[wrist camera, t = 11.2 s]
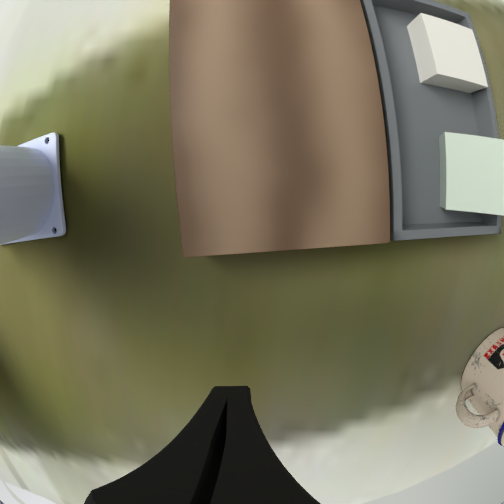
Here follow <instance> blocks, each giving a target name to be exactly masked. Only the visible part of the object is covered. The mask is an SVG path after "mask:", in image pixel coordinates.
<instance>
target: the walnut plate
mask: <svg viewBox="0 0 504 504" xmlns="http://www.w3.org/2000/svg"><path fill="white" fill-rule="evenodd" d="M169 77H170V107H171V128H172V144H173V158H174V171H175V183H176V194H177V204H178V214H179V223H180V232H181V240H182V248H183V256H184V257H198V256H212V255H226V254H240V253H254V252H268V251H282V250H296V249H310V248H324V247H338V246H352V245H366V244H380V243H390V195H389V173H388V158H387V146H386V136H385V126H384V118H383V110H382V103H381V96H380V89H379V83H378V77H377V72H376V66H375V61H374V56H373V51H372V46H371V42H370V38H369V33H368V29H367V25H366V21H365V17H364V13H363V10H362V6H361V3H360V0H170V14H169Z"/></svg>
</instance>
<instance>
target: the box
mask: <svg viewBox="0 0 504 504" xmlns="http://www.w3.org/2000/svg"><path fill="white" fill-rule="evenodd" d="M360 3H361V6H362V10H363V13H364V17H365V21H366V25H367V29H368V33H369V38H370V42H371V46H372V51H373V56H374V61H375V66H376V72H377V77H378V83H379V89H380V96H381V103H382V110H383V118H384V126H385V136H386V146H387V158H388V173H389V195H390V239H391V240H393V241H396V240H411V239H425V238H440V237H454V236H469V235H483V234H498V233H501V225H502V215H495V214H486V213H477V212H467V211H457V210H446V209H444V208H442V207H440V150H439V137H440V136H441V135H442V134H443V133H444V132H450V133H460V134H468V135H476V136H483V137H489V138H496V139H499V135H498V127H497V120H496V113H495V107H494V102H493V96H492V91H491V87H490V82H489V78H488V73H487V69H486V66H485V62H484V58H483V55H482V51H481V48H480V44H479V41H478V38H477V35H476V32H475V29H474V26H473V23H472V21H471V18H470V15H469V13H466V12H464V11H461V10H458V9H456V8H453V7H450V6H447V5H445V4H442V3H439V2H435V1H432V0H360ZM420 13H423V14H427V15H430V16H434V17H437V18H440V19H444V20H447V21H450V22H453V23H456V24H458V25H461V26H464V27H467V28H469V29H472V30H473V33H474V36H475V40H476V43H477V46H478V49H479V53H480V56H481V60H482V64H483V68H484V72H485V76H486V80H487V85H488V87H487V88H484V89H481V90H478V91H475V92H472V93H466V92H462V91H458V90H454V89H449V88H444V87H439V86H434V85H429V84H423V83H420V80H419V74H418V70H417V65H416V60H415V56H414V52H413V48H412V44H411V40H410V36H409V32H408V29H407V25H408V24H410V23H411V22H412V21H413V20H414V19H415V18H416V17H417V16H418V15H419V14H420Z"/></svg>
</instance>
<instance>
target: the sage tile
mask: <svg viewBox="0 0 504 504" xmlns="http://www.w3.org/2000/svg"><path fill="white" fill-rule="evenodd" d="M439 150H440V207H442V208H444V209H446V210H457V211H467V212H477V213H486V214H495V215H503V216H504V140H502V139H496V138H489V137H483V136H476V135H468V134H460V133H450V132H444V133H443V134H442V135H441V136H440V137H439Z"/></svg>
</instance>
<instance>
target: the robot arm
mask: <svg viewBox="0 0 504 504" xmlns="http://www.w3.org/2000/svg"><path fill="white" fill-rule="evenodd" d="M48 139H49V143H48ZM55 228H56V229H57V232H55ZM65 233H66V224H65V216H64V208H63V199H62V188H61V176H60V158H59V135H58V134H57V133H50V134H47V135H44V136H41V137H39V138H36V139H34V140H31V141H29V142H26V143H24V144H21V145H19V146H2V145H0V245H3V244H9V243H16V242H22V241H29V240H36V239H43V238H50V237H57V236H62V235H64V234H65ZM0 504H4V503H3V502H2V501H0ZM84 504H320V503H319V502H318V501H317V500H315V499H314V498H313V497H312V496H311V495H310V494H309V493H308V492H307V491H306V490H305V489H304V488H303V487H302V486H301V485H300V484H299V483H298V482H297V481H296V480H295V479H294V478H293V477H292V475H291V474H290V473H289V472H288V471H287V469H286V468H285V467H284V466H283V464H282V463H281V462H280V460H279V459H278V457H277V456H276V454H275V453H274V451H273V450H272V448H271V447H270V445H269V443H268V441H267V440H266V438H265V436H264V434H263V432H262V430H261V428H260V425H259V423H258V421H257V418H256V416H255V413H254V410H253V407H252V403H251V394H250V388H249V387H248V386H215V387H214V388H213V389H212V390H211V392H210V393H209V395H208V397H207V398H206V400H205V401H204V403H203V404H202V406H201V407H200V408H199V410H198V411H197V412H196V414H195V415H194V416H193V418H192V419H191V420H190V421H189V423H188V424H187V425H186V426H185V427H184V428H183V430H182V431H181V432H180V433H179V434H178V435H177V436H176V437H175V438H174V439H173V440H172V441H171V442H170V443H169V444H168V445H167V446H166V447H165V448H164V449H163V450H161V451H160V452H159V453H158V454H157V455H155V456H154V457H153V458H151V459H150V460H149V461H147V462H146V463H145V464H143V465H142V466H140V467H139V468H137V469H135V470H134V471H132V472H130V473H129V474H127V475H125V476H123V477H122V478H120V479H118V480H116V481H113V482H111V483H109V484H106V485H104V486H102V487H99V488H97V489H94V490H92V491H91V492H90V494H89V496H88V497H87V499H86V501H85V503H84ZM502 504H504V502H503V503H502Z"/></svg>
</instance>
